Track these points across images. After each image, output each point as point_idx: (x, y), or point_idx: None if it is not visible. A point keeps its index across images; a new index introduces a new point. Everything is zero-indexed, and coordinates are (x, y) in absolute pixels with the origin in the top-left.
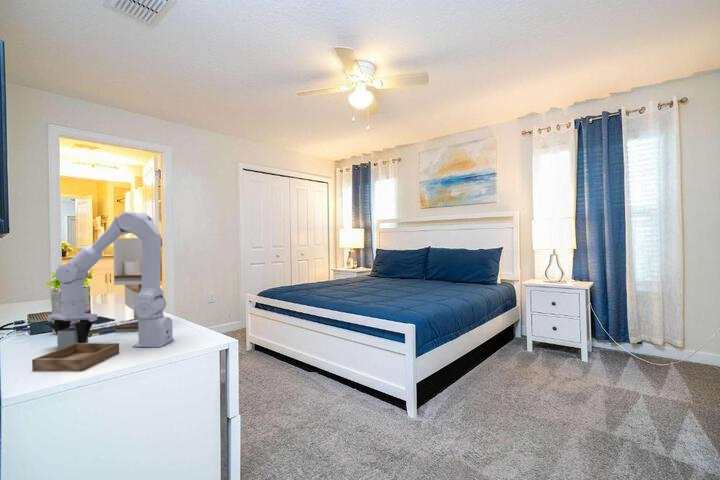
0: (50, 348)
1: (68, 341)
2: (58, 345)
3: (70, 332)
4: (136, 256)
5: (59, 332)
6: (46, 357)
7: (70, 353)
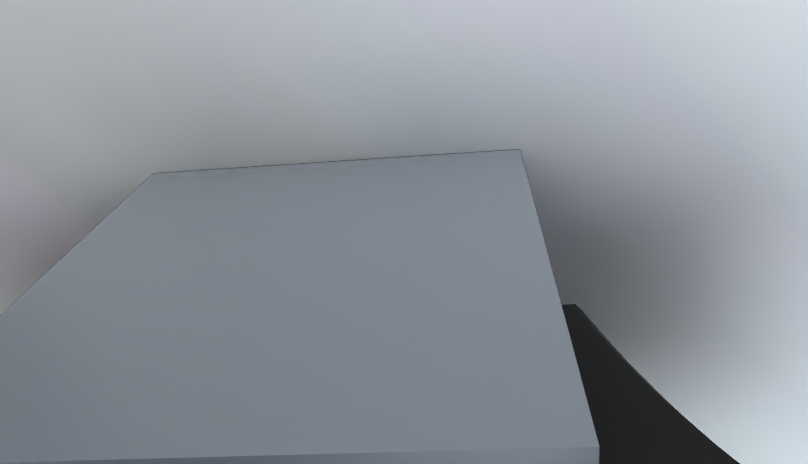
0: (796, 246)
1: (217, 252)
2: (506, 191)
3: (6, 428)
4: None
5: (486, 415)
6: None
7: None
